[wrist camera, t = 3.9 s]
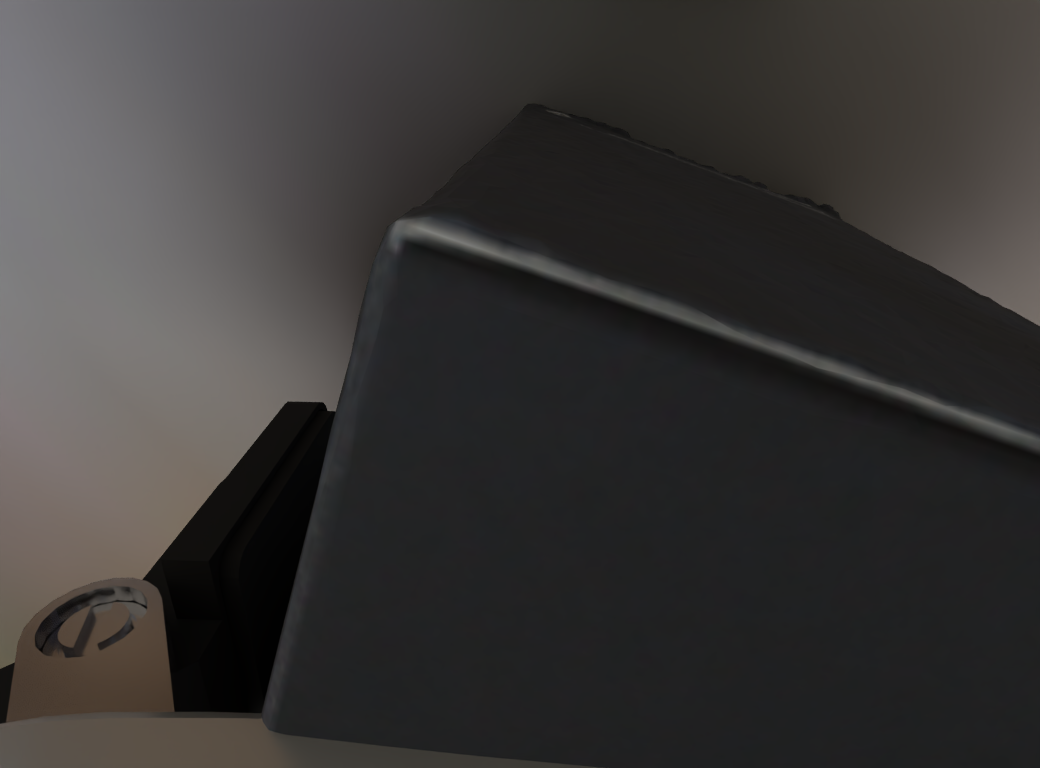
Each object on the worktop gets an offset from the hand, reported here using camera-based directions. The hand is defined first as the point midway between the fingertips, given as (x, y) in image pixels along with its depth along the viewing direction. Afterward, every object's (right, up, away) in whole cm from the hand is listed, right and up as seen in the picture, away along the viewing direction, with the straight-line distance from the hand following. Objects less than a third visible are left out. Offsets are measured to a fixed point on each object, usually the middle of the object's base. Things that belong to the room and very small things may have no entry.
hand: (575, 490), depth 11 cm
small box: (0, +2, +3) cm, 4 cm away
